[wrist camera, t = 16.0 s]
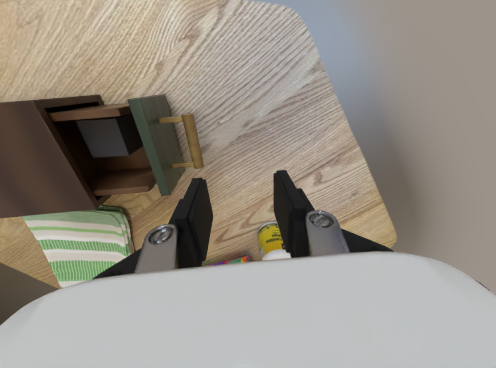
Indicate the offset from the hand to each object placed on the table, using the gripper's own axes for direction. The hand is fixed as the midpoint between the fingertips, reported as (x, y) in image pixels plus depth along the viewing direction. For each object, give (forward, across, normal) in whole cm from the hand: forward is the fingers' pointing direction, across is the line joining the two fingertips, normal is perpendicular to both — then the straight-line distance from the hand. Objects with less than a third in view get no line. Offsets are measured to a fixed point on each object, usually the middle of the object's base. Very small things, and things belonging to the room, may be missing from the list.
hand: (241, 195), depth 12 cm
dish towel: (+20, +33, +22) cm, 44 cm away
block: (+15, +18, -2) cm, 24 cm away
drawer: (+18, +14, 0) cm, 23 cm away
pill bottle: (+20, -5, +22) cm, 30 cm away
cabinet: (+19, +26, 0) cm, 32 cm away
